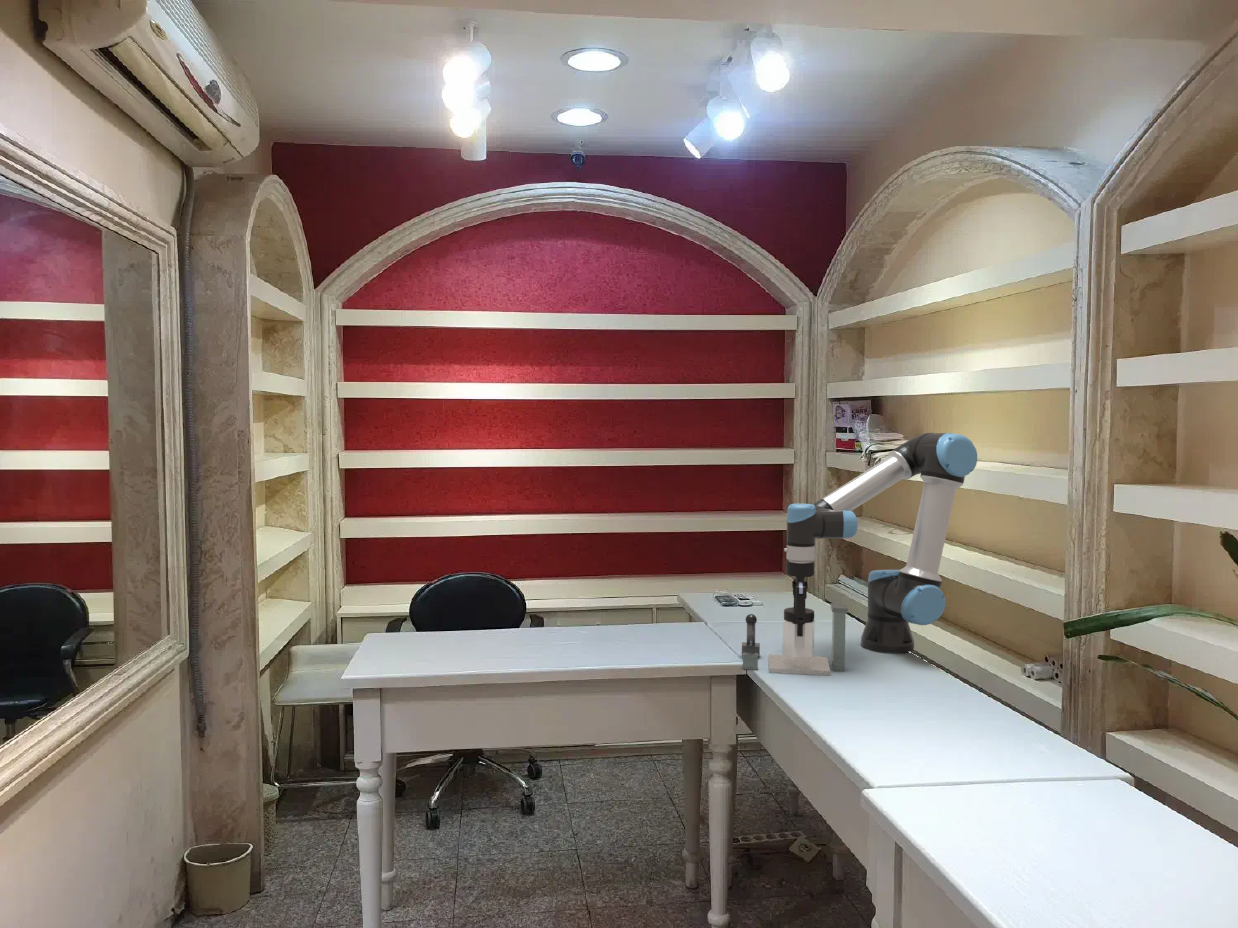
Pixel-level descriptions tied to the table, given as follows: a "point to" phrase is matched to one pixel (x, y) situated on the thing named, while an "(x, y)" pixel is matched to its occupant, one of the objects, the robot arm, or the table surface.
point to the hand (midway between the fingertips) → (798, 643)
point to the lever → (751, 636)
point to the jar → (790, 631)
